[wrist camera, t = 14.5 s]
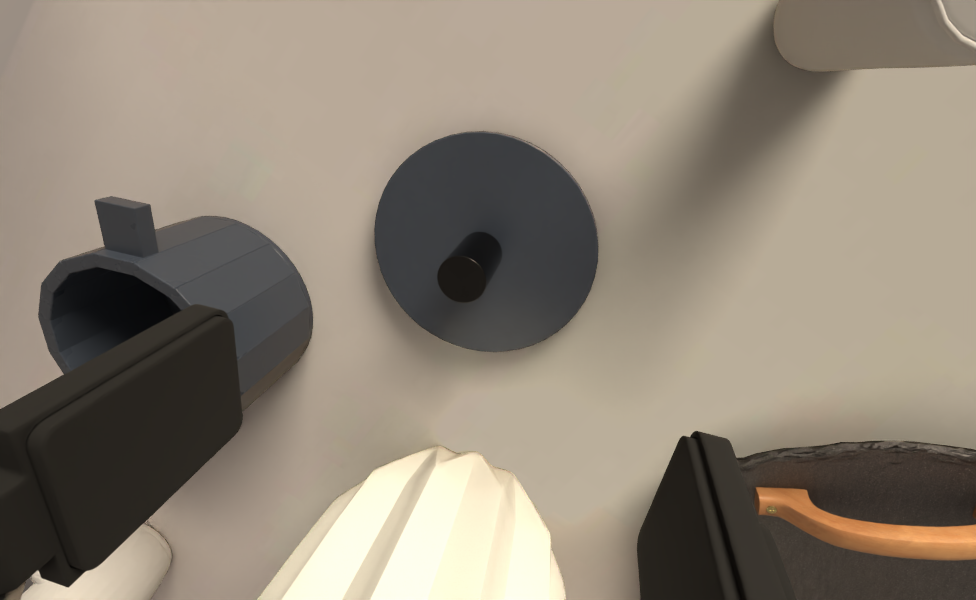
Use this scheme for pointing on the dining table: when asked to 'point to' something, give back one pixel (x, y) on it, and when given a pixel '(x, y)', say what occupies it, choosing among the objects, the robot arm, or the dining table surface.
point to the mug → (115, 573)
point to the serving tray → (870, 518)
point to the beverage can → (875, 33)
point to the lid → (486, 241)
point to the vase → (426, 538)
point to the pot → (177, 291)
